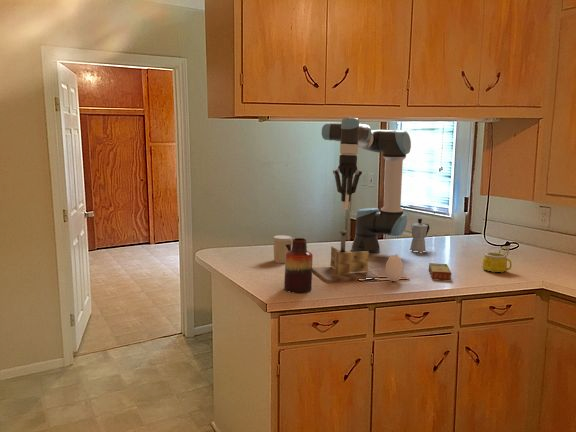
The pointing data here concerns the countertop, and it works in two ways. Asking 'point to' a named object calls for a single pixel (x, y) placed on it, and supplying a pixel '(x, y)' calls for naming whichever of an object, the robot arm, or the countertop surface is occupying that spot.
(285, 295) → the countertop surface
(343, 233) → the hinge pin
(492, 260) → the mug
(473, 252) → the countertop surface
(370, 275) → the hinge mount
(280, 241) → the coffee cup
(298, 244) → the vase
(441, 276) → the carton
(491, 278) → the countertop surface
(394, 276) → the egg
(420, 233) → the coffee maker
